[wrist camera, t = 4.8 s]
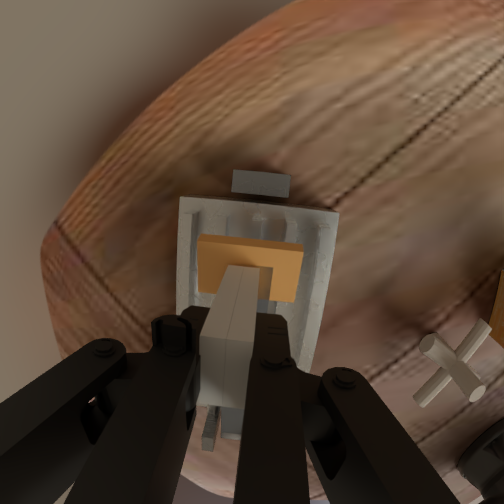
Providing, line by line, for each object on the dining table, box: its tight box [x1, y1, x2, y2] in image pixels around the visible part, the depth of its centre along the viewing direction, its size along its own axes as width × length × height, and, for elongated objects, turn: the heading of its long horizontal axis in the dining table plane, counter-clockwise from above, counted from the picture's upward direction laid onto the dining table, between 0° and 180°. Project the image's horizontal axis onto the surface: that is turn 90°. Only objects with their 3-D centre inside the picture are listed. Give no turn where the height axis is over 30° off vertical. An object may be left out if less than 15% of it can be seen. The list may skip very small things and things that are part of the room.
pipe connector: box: [413, 318, 492, 408], centre depth 22 cm, size 10×10×10 cm
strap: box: [197, 233, 304, 440], centre depth 19 cm, size 20×5×1 cm, turn 174°
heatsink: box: [176, 169, 339, 452], centre depth 23 cm, size 23×12×8 cm, turn 174°
